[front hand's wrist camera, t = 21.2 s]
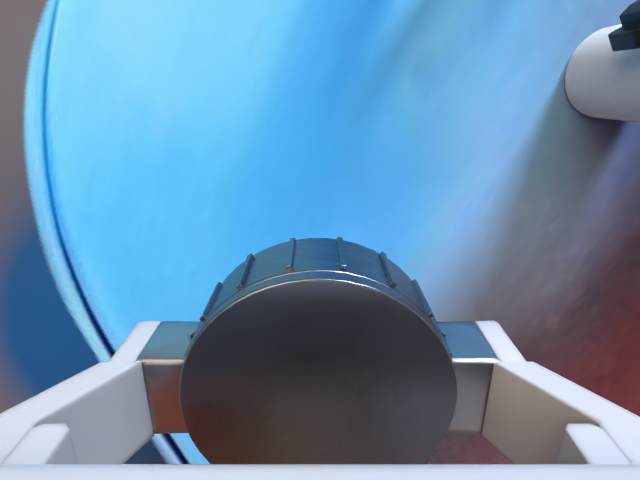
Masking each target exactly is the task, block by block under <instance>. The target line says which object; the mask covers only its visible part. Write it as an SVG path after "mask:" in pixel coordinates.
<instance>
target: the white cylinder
mask: <svg viewBox="0 0 640 480" xmlns="http://www.w3.org/2000/svg"><path fill="white" fill-rule="evenodd" d="M620 27H622V24H620V25H615V26H610V27H606V28H603V29H601V30H598V31H596V32H595V33H593V34H591V35H590V36H589V37H587V38H586V39H585V40H584V41H583V42H582V43H581V44H580V45H579V46H578V48H577V49H576V50H575V52H574V53H573V55H572V57H571V59H570V61H569V63H568V66H567V69H566V74H565V89H566V93H567V96H568V99H569V101H570V102H571V104H572V105H573V106H574V107H575V108H576V110H578V111H579V112H580V113H582V114H584V115H587V116H590V117H595V118H604V119H614V120H623V121H633V122H640V48H638V49H631V50H622V51H612V48H611V44H610V41H609V38H608V34H609V33H611V32H613V31H614V30H616V29H618V28H620Z"/></svg>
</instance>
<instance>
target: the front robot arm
mask: <svg viewBox="0 0 640 480" xmlns="http://www.w3.org/2000/svg"><path fill="white" fill-rule="evenodd" d="M199 323H200V322H187V321H141V322H138V323H137V325H136V326H135V327H134V329H133V330H132V331H131V333H130V334H129V335H128V337H127V338H126V339H125V341H124V342H123V343H122V345H121V346H120V347H119V349H118V350H117V351H116V353H115V354H114V355H113V357H112V358H111V359H110V361H109V362H100V363H98V364H96V365H94V366H92V367H91V368H89V369H87V370H85V371H83V372H81V373H79V374H77V375H75V376H73V377H71V378H69V379H67V380H65V381H63V382H61V383H59V384H57V385H55V386H53V387H51V388H49V389H48V390H46V391H44V392H42V393H40V394H38V395H36V396H34V397H32V398H30V399H28V400H26V401H24V402H22V403H20V404H18V405H16V406H14V407H12V408H10V409H8V410H7V411H4V412H3V413H1V414H0V480H640V417H639V416H637V415H635V414H633V413H631V412H629V411H628V410H626V409H624V408H622V407H620V406H618V405H616V404H614V403H612V402H610V401H608V400H606V399H604V398H602V397H601V396H599V395H597V394H595V393H593V392H591V391H589V390H587V389H585V388H583V387H581V386H579V385H577V384H575V383H574V382H572V381H570V380H568V379H566V378H564V377H562V376H560V375H558V374H556V373H554V372H552V371H550V370H548V369H547V368H545V367H543V366H541V365H539V364H537V363H535V362H526V360H525V359H524V357H523V356H522V355H521V353H520V352H519V351H518V349H517V348H516V347H515V345H514V344H513V343H512V341H511V340H510V339H509V337H508V336H507V334H506V333H505V332H504V330H503V329H502V328H501V326H500V325H499V324H498V322H496V321H467V322H437V324H438V326H439V328H440V330H441V332H442V334H443V336H444V338H445V340H446V342H447V344H448V346H449V348H450V350H451V352H452V357H451V359H452V362H453V365H454V369H455V375H456V380H457V399H456V406H455V412H454V416H453V419H452V422H451V425H450V427H449V430H448V432H447V433H474V434H482V436H483V437H484V438H485V439H486V440H487V441H488V442H489V443H490V444H491V445H492V446H493V447H495V448H496V449H497V450H498V451H499V452H500V453H501V454H502V455H503V456H504V457H505V458H507V459H508V460H509V461H510V462H511V463H512V464H123V463H124V462H126V461H127V460H128V459H129V458H130V457H131V456H132V455H133V454H134V453H136V452H137V451H138V450H139V449H140V448H141V447H142V446H143V445H144V444H145V443H147V442H148V441H149V440H150V439H151V438H152V437H153V436H154V434H162V433H188V431H187V429H186V427H185V424H184V420H183V417H182V414H181V408H180V401H179V380H180V374H181V369H182V365H183V362H184V360H185V358H183V356H184V354H185V352H186V350H187V348H188V346H189V344H190V342H191V340H192V338H193V335H194V333H195V331H196V329H197V327H198V325H199Z"/></svg>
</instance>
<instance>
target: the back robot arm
mask: <svg viewBox="0 0 640 480" xmlns="http://www.w3.org/2000/svg"><path fill="white" fill-rule="evenodd" d="M619 17H620V20H621V24H622V27H620V28H618V29H616V30H614V31H613V32H611V33H609V34H608V38H609V41H610V44H611V48H612V51H622V50H631V49H638V48H640V0H638V1H636V2H634V3H632V4H631V5H629V7H628V8H627V9H626V10H625V11H624V12H623V13H622V14H621V15H620V16H619Z"/></svg>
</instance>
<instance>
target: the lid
mask: <svg viewBox="0 0 640 480" xmlns="http://www.w3.org/2000/svg"><path fill="white" fill-rule="evenodd" d="M200 320H201V321H200V323H199V325H198V327H197V329H196V331H195V333H194V335H193V338H192V340H191V342H190V344H189V346H188V348H187V350H186V352H185V354H184V356H183V358H185V360H184V362H183V365H182V369H181V374H180V380H179V401H180V408H181V414H182V417H183V420H184V424H185V427H186V429H187V431H188V433H189V435H190V437H191V439H192V441H193V442H194V444H195V445H196V447H197V448H198V450H199V451H200V453H201V454H202V455H203V456H204V457H205V458H206V459H207V460H208V462H209V463H210V464H425V463H426V462H427V461H428V460H429V458H430V457H431V456H432V455H433V454H434V453H435V452H436V450H437V449H438V447H439V446H440V444H441V443H442V441H443V440H444V438H445V436H446V434H447V432H448V430H449V427H450V425H451V422H452V419H453V416H454V412H455V406H456V399H457V380H456V375H455V369H454V365H453V362H452V359H451V357H452V352H451V350H450V348H449V346H448V344H447V342H446V340H445V338H444V336H443V334H442V332H441V330H440V328H439V326H438V324H437V322H436V320H435V318H434V315H433V313H432V311H431V309H430V307H429V305H428V303H427V301H426V299H425V297H424V295H423V293H422V291H421V289H420V287H419V285H418V283H417V281H416V280H415V279H414V280H413V281H411V279H410V278H409V277H408V276H407V275H406V274H405V273H404V272H403V271H402V270H401V269H400V268H399V267H398V266H397V265H396V264H394V263H393V262H392V261H390V260H389V259H388V258H387V256H386V254H385V253H383V252H381V253H380V254H379V253H377V252H375V251H374V250H372V249H369V248H366V247H364V246H361V245H359V244H355V243H351V242H347V241H343V238H340V237H337V240H336V239H328V238H308V239H300V240H295V238H291V239H290V241H289V242H285V243H281V244H277V245H275V246H272V247H270V248H267V249H265V250H262V251H261V252H259V253H257V254H255V255H252V254H250V255H248V256H247V258H246V261H244V262H243V263H242V264H240V265H239V266H238V267H237V268H236V269H235V270H234V271H233V272H232V273H231V274H230V275H229V276H228V277H227V278H226V279H225V280H224V282H223V283H220V282H218V284H217V285H216V287H215V289H214V291H213V293H212V295H211V297H210V299H209V302H208V304H207V306H206V308H205V310H204V312H203V314H202V316H201V318H200Z"/></svg>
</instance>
